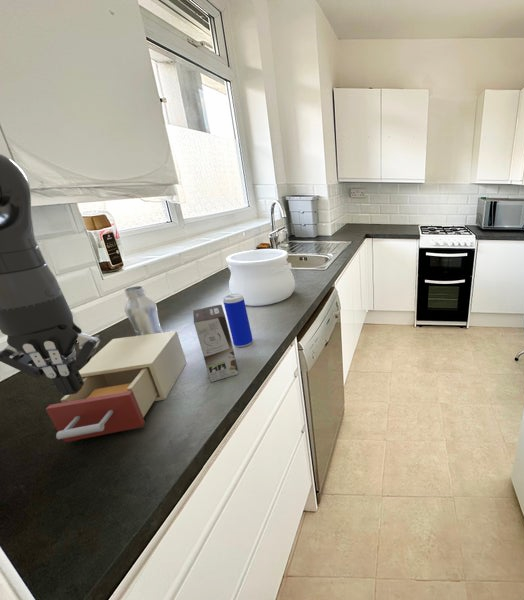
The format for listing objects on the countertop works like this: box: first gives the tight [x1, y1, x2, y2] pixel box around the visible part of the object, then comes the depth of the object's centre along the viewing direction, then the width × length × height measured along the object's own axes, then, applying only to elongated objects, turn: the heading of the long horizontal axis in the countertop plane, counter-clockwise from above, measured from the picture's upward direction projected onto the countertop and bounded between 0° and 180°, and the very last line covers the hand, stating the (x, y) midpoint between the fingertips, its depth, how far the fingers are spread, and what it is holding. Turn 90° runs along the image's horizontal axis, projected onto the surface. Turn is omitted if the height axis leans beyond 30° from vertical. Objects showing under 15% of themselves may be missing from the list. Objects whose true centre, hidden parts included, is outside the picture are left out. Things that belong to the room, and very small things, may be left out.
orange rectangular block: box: [86, 383, 131, 399], centre depth 63 cm, size 7×5×4 cm
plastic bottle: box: [124, 285, 164, 336], centre depth 83 cm, size 6×7×20 cm
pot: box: [225, 248, 296, 307], centre depth 125 cm, size 26×24×18 cm
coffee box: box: [192, 304, 239, 383], centre depth 77 cm, size 9×6×16 cm
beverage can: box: [223, 293, 254, 348], centre depth 90 cm, size 5×5×15 cm
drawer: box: [45, 367, 159, 443], centre depth 62 cm, size 19×12×8 cm, turn 17°
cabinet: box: [79, 330, 187, 402], centre depth 73 cm, size 16×14×10 cm
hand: (73, 391), depth 53 cm, fingers closed
